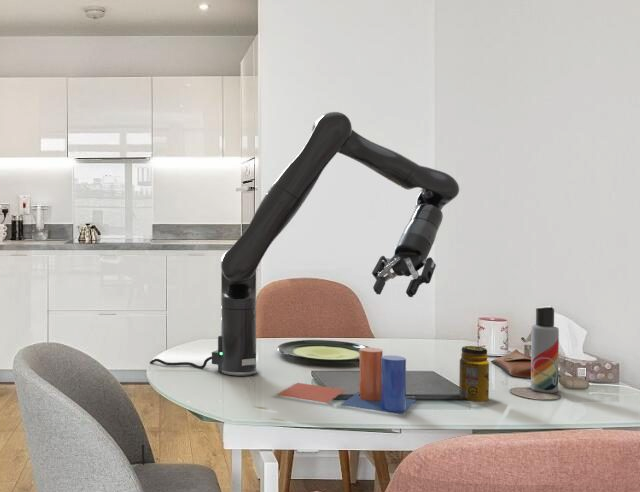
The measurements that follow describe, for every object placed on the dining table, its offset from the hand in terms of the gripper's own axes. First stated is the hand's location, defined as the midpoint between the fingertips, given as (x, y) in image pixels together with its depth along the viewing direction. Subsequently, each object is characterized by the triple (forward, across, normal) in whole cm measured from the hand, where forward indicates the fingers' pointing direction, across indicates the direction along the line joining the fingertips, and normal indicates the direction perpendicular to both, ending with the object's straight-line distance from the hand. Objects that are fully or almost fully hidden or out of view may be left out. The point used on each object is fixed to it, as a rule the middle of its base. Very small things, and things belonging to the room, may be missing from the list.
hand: (392, 293), depth 169 cm
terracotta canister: (+24, 0, +8) cm, 25 cm away
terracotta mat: (+28, -11, +3) cm, 31 cm away
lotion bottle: (-2, +21, +38) cm, 44 cm away
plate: (+4, -34, +30) cm, 45 cm away
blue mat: (+26, +4, +7) cm, 27 cm away
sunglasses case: (-13, +8, +50) cm, 52 cm away
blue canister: (+27, +9, +5) cm, 28 cm away
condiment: (+13, +15, +21) cm, 29 cm away
